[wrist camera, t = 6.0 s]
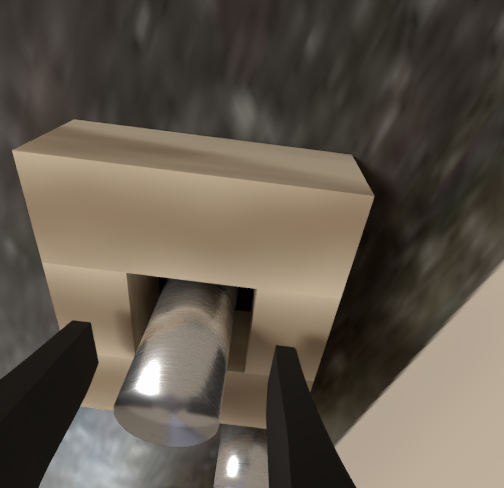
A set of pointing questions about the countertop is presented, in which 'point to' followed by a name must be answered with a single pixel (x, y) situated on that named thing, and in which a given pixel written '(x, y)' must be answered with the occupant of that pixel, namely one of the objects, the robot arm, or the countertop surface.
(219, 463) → the short steel pin
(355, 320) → the countertop surface
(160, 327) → the long steel pin
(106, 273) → the birch board
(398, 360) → the countertop surface
